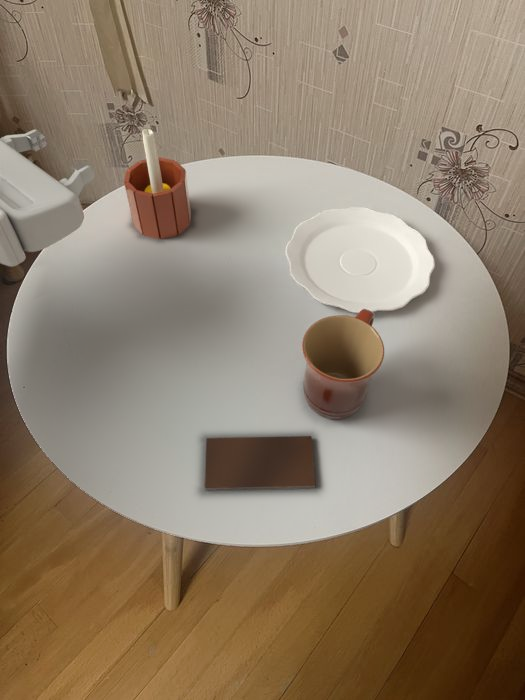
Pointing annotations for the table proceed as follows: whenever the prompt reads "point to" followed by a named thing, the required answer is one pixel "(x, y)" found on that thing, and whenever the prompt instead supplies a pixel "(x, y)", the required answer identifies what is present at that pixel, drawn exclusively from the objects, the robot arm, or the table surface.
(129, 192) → the holder cup
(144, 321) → the table surface
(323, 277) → the plate
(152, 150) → the candle
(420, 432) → the table surface
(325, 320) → the mug
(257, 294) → the table surface
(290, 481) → the walnut mat
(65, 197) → the robot arm
